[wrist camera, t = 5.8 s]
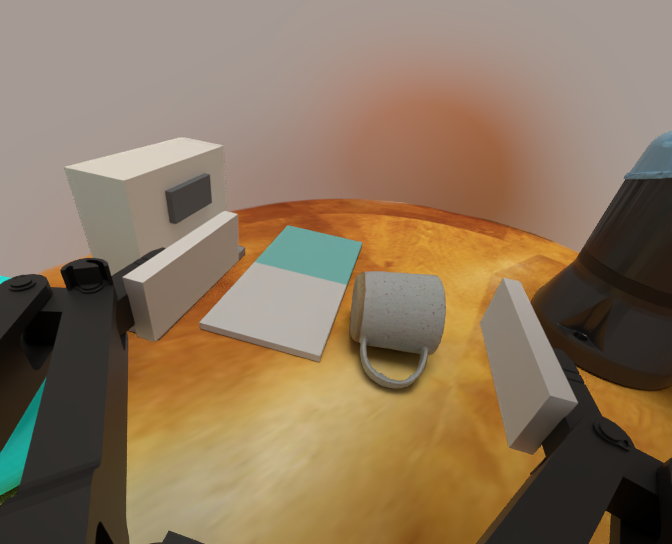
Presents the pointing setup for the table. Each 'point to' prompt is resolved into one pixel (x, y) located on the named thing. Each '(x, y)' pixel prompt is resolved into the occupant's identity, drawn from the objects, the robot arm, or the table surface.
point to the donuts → (18, 443)
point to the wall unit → (148, 198)
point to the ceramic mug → (397, 317)
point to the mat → (288, 294)
